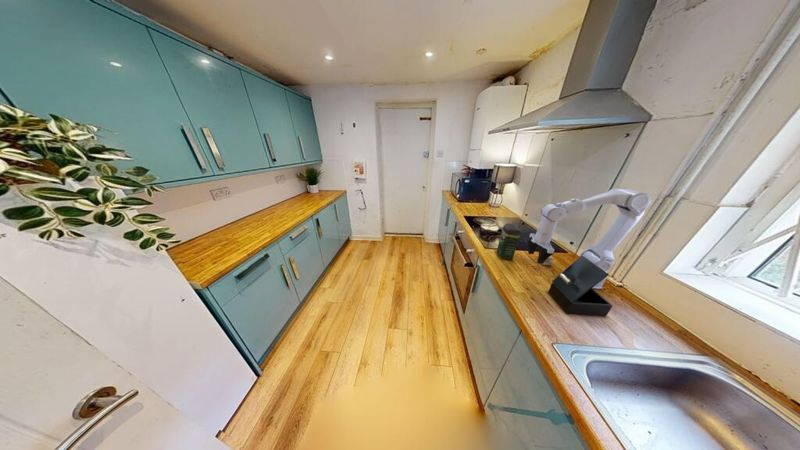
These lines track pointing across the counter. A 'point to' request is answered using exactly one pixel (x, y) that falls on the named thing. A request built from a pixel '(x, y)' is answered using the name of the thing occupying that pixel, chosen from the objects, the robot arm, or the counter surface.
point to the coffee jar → (508, 241)
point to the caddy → (581, 303)
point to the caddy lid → (579, 278)
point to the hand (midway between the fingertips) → (535, 258)
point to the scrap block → (548, 261)
